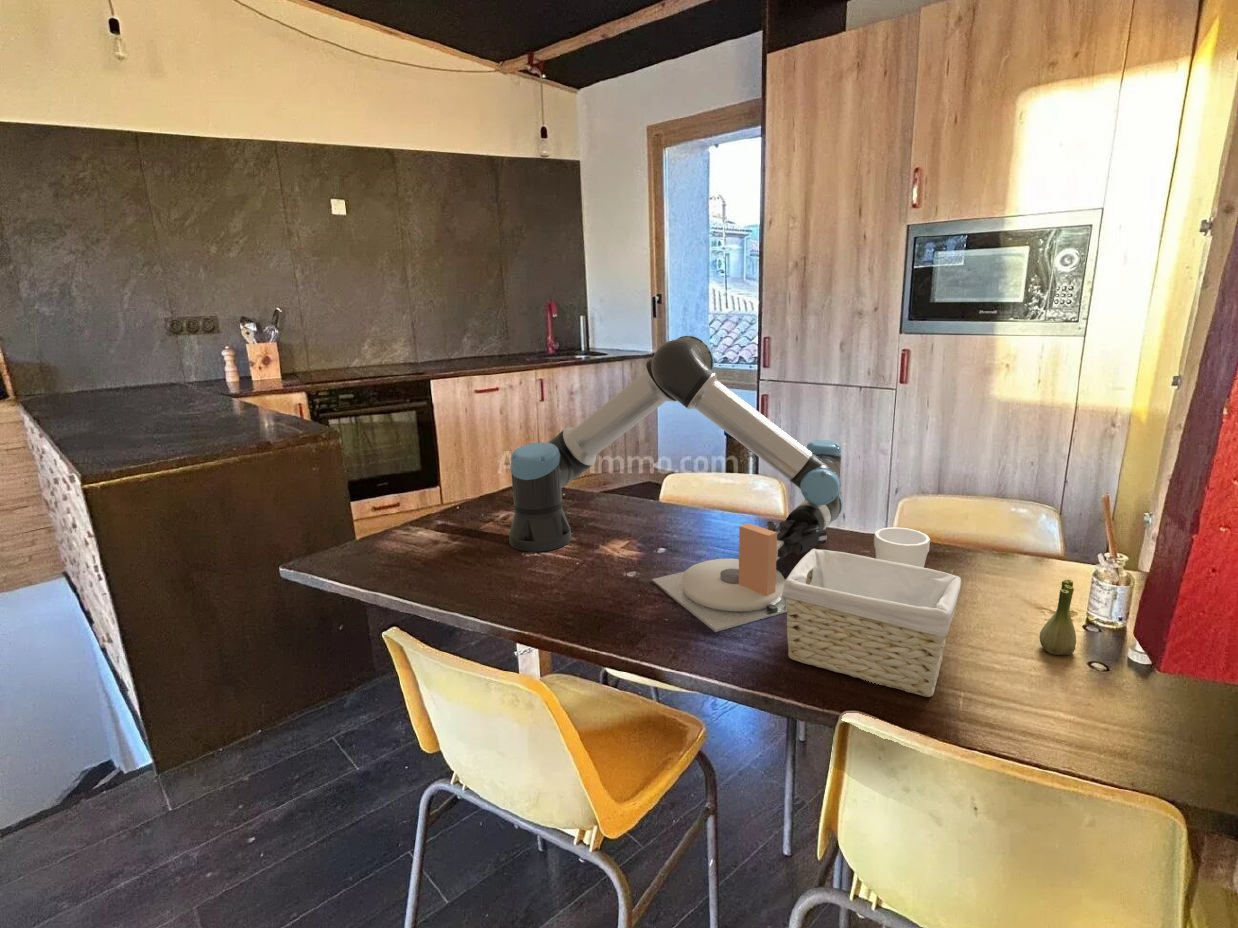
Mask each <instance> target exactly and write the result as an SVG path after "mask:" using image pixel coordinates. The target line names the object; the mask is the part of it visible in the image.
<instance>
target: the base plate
mask: <svg viewBox="0 0 1238 928" xmlns="http://www.w3.org/2000/svg"><path fill="white" fill-rule="evenodd" d="M684 572H685V571H682V572H677V573H673V574H668V575H664V576H660V577H655V578H651V582H652V583H653V584H654V585H655V586H656V587H658V588H659V589H661V590H662V591H663V592H664V593H666V594H667V595H668V596H669V597H670V598H671V599H673V600H674V601H675V602H677V603H678V604H679V605H680V606H682V607H683V608H684V609H686V610H687V611H688V612H689V613H690V614H692V615H693V616H694V617H695V618H697V619H698V620H699V621H700V622H702V623H703V624H704V625H706V626H707V627H708V628H710V629H711V630H712V631H713V632H714V633H717V632H721V631H725V630H728V629H731V628H736V627H738V626H742V625H745V624H746V625H747V624H750V623H754V622H757V621H760V619H761V620H764V619H767V618H771V617H775V616H778V615H782V614H785V613H787V610H786V597H784V596H783V598H782V599H781V600H780V601H779V602H777V603H776V604H774V605H772V604H771V605H768V606H767V607H766V608H763V609H758V610H752V611H725V610H718V609H713V608H709V607H706V606H703V605H701V604H698V603H696V602H694V601H693V600H691V599H690V598H688V597H687V596H686V594H685V593H684V591H683V574H684ZM784 579H785V580H786V579H787V578H784Z"/></svg>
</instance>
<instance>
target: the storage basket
mask: <svg viewBox="0 0 1238 928" xmlns="http://www.w3.org/2000/svg"><path fill="white" fill-rule="evenodd" d="M809 550H810V551H807V553H805V555H804V556H803V557H802V558H801V559H800V560H799V561H798V563H796V565H795V566H794V568H793V569H792V570H791V572H790V573H789V575H788V576H787V577H786V578H785V579H786V580H785V582H784V588H783V595H784V597H786V610H787V612H786V620H787V621H786V627H787V630H786V632H787V633H786V637H787V645H788V651H787V652H788V653H787V654H788V655H787V656H788V658H790V659H791V660H793V661H796V662H800V663H802V664H806V665H810V666H814V667H817V668H819V669H820V668H822V669H825V670H829V671H831V672H835V673H839V674H844V675H847V676H850V677H853V678H858V679H861V680H863V681H865V680H866V681H865V682H868V681H869V682H868V683H871V682H872V683H871V684H874V683H876V684H875V685H878V684H879V686H886V687H887V688H888V687H889V688H893V689H898V690H901V691H903V692H904V691H905V692H906V693H912V694H915V695H918V696H922V697H926V698H930V697H933V696H934V693H935V690H936V686H937V681H938V678H939V675H940V671H941V664H942V663H943V654H944V653H945V652H944V649H945V646H946V642H947V640H946V639H947V638H948V637H947V635H949V632H950V625H951V623H952V620H953V619H954V613H955V611H956V606H957V603H958V598H959V595H960V590H961V585H962V580H961V579H962V578H961V577H959V576H958V575H954V574H952V573H948V572H944V571H940V570H937V569H936V570H935V569H932V568H927V567H924V568H923V567H918V566H913V565H908V564H902V563H897V562H891V561H886V560H880V559H876V557H875V558H874V557H870V556H864V555H861V554H860V555H859V554H853V553H848V552H844V551H838V550H837V551H835V550H828V549H816V548H811V549H809Z"/></svg>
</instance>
